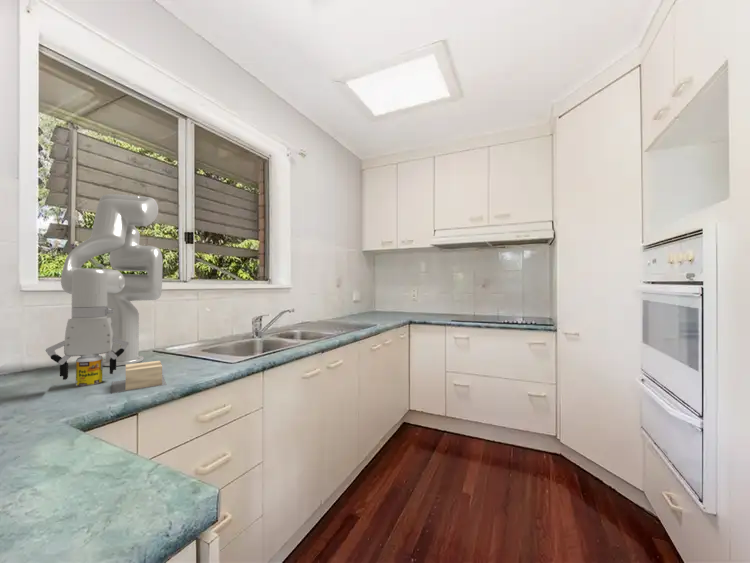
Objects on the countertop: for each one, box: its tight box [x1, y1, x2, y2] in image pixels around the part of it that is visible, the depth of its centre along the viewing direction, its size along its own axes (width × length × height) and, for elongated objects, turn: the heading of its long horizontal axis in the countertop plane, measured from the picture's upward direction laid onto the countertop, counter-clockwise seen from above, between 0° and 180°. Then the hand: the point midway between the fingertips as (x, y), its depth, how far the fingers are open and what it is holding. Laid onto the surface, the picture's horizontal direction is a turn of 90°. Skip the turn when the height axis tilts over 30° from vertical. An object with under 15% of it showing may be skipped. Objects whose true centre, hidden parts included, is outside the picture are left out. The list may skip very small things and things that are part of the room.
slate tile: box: [110, 374, 167, 394], centre depth 93 cm, size 12×12×1 cm
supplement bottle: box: [75, 354, 104, 387], centre depth 92 cm, size 6×6×10 cm
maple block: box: [125, 360, 163, 390], centre depth 92 cm, size 8×8×5 cm
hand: (89, 375), depth 92 cm, fingers open, 9 cm apart
